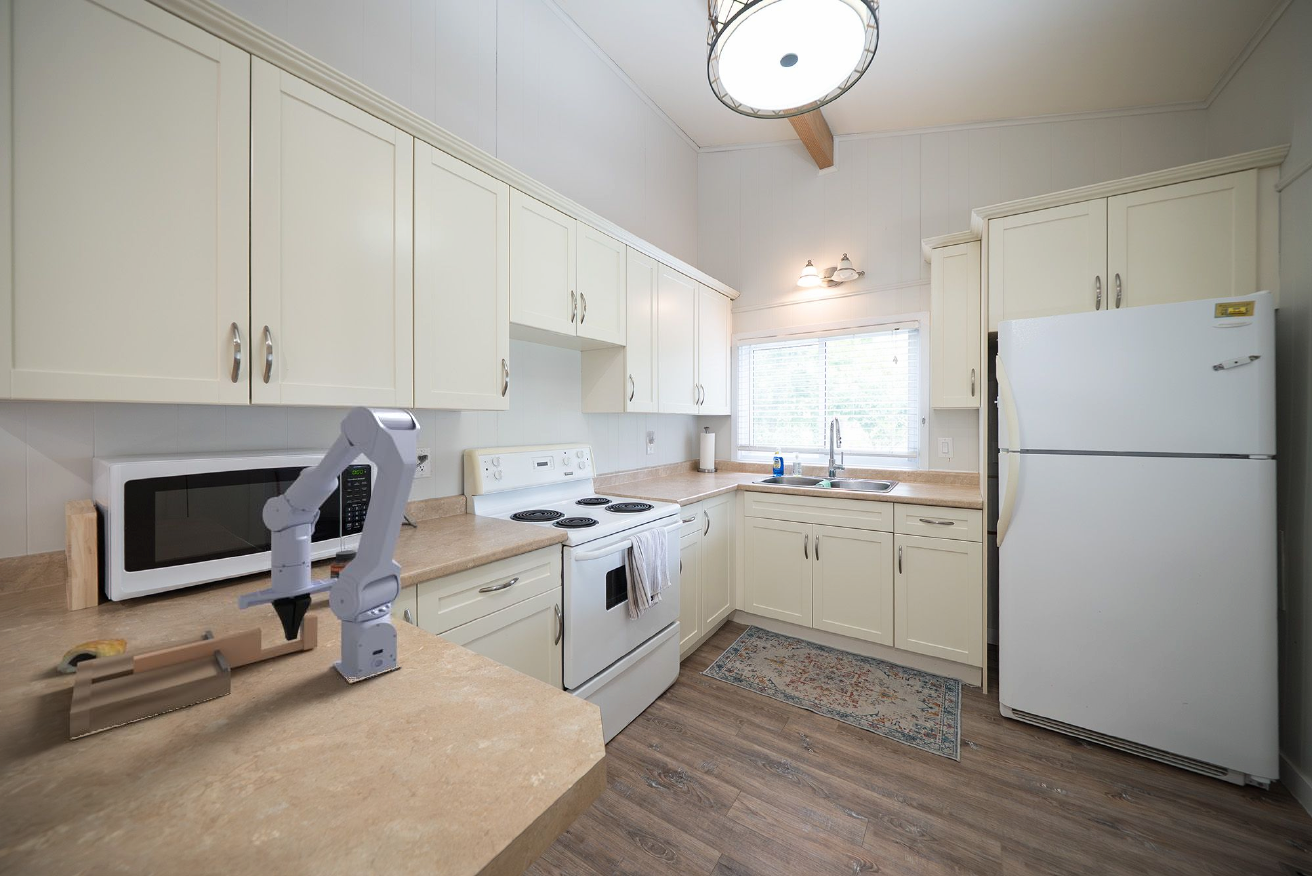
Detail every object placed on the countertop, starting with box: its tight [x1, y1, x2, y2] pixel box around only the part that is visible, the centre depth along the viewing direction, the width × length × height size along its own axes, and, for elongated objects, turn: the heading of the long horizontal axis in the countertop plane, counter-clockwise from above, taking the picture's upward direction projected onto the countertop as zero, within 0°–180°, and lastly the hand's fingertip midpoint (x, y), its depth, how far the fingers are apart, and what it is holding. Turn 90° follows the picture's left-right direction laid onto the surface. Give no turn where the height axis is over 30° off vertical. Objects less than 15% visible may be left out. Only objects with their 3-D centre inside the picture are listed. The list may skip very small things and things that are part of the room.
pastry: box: [56, 637, 128, 674], centre depth 85 cm, size 9×7×4 cm
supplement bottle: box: [329, 549, 357, 579], centre depth 116 cm, size 6×6×11 cm
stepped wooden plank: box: [134, 611, 319, 674], centre depth 82 cm, size 3×23×6 cm, turn 138°
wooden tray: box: [69, 629, 232, 739], centre depth 75 cm, size 20×16×4 cm
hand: (291, 638), depth 88 cm, fingers closed
